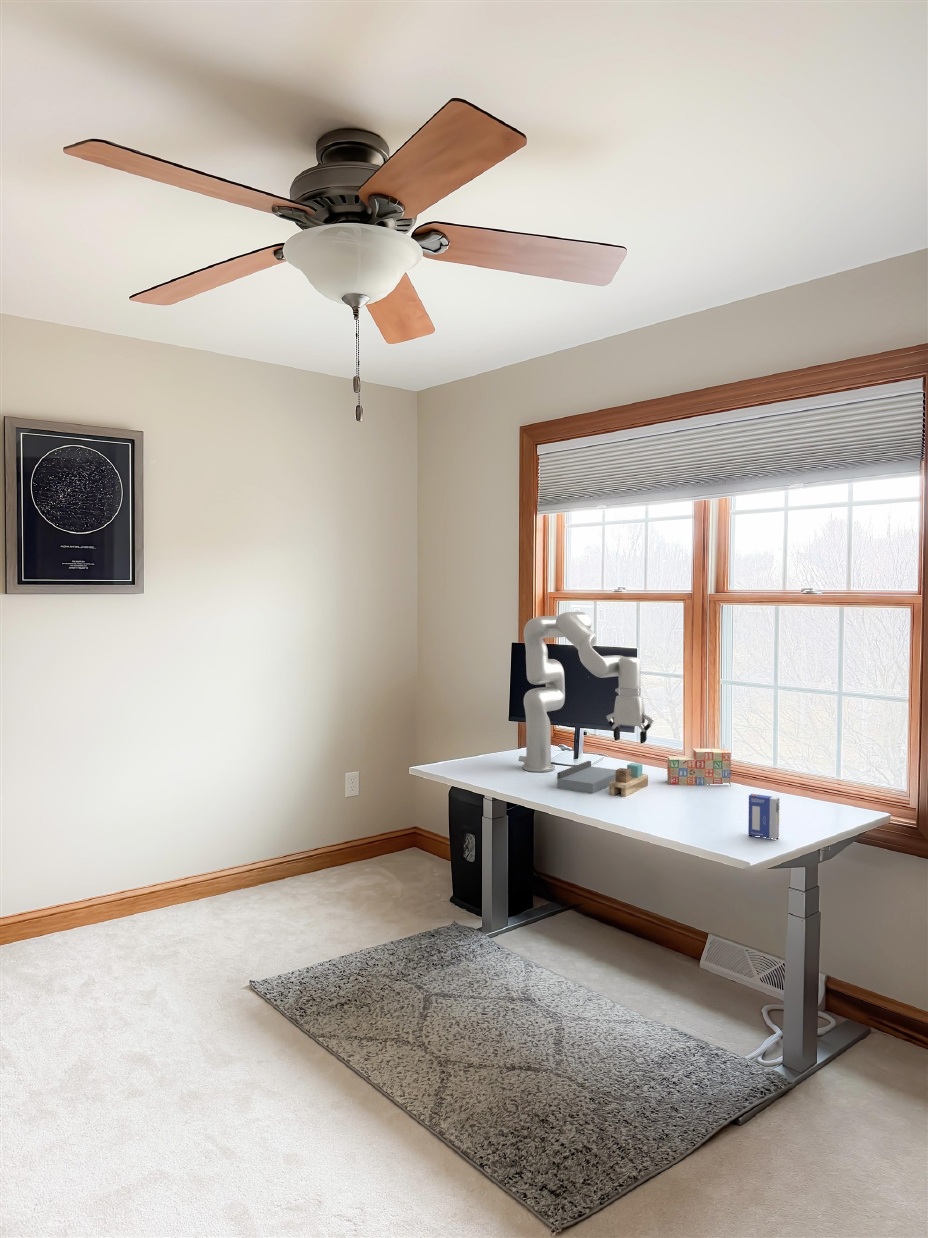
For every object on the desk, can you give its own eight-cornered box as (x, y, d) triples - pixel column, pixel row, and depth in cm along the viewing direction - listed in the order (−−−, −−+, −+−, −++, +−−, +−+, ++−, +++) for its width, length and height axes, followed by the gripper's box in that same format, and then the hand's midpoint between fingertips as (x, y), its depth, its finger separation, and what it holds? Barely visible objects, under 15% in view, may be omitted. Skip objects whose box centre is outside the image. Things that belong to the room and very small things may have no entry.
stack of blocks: (669, 785, 298) (669, 751, 298) (667, 781, 304) (667, 747, 304) (730, 786, 296) (731, 752, 295) (727, 782, 302) (727, 748, 302)
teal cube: (627, 776, 294) (627, 765, 294) (631, 774, 298) (631, 763, 298) (637, 777, 292) (637, 766, 292) (642, 775, 295) (642, 764, 295)
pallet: (609, 795, 285) (609, 782, 285) (632, 784, 301) (632, 772, 300) (625, 798, 282) (625, 785, 281) (647, 786, 297) (647, 774, 297)
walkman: (748, 836, 237) (748, 794, 237) (751, 833, 240) (751, 792, 239) (776, 840, 233) (777, 798, 232) (779, 838, 235) (779, 796, 235)
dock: (557, 788, 294) (557, 772, 294) (588, 775, 314) (588, 760, 313) (593, 793, 286) (593, 778, 286) (622, 780, 306) (622, 765, 305)
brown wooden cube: (615, 781, 286) (615, 770, 286) (620, 779, 290) (620, 768, 290) (626, 783, 284) (626, 771, 284) (631, 780, 287) (631, 769, 287)
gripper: (602, 692, 292) (602, 740, 292) (648, 695, 282) (649, 745, 282) (611, 690, 298) (611, 737, 298) (657, 692, 288) (657, 742, 288)
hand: (629, 741), depth 290 cm, fingers open, 9 cm apart
